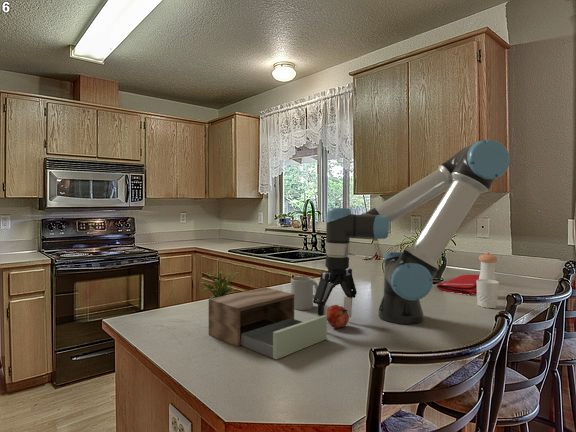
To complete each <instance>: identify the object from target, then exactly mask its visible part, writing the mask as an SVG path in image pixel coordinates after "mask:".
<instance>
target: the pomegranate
mask: <svg viewBox="0 0 576 432" xmlns="http://www.w3.org/2000/svg"><path fill="white" fill-rule="evenodd" d="M346 311H348V310H347V309H345V308H344V306H340V305H338V304H333V305H330V306H329V307H327V323H328V324H330V326H331V327H332V328H334V329H340V328H343V327H346V326H347V325H348V323H349V320H350V318H349V316H348V313H347V312H346Z"/></svg>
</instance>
